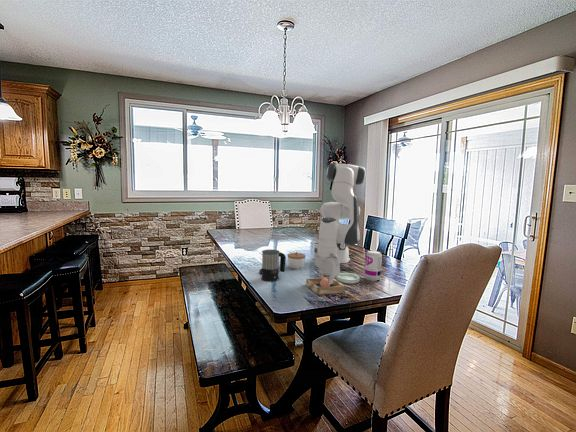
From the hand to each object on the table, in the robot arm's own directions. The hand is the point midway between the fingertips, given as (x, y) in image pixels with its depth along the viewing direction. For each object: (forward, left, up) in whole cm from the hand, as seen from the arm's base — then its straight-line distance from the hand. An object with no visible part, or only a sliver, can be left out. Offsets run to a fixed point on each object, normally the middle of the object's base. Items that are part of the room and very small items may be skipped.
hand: (325, 280), depth 144 cm
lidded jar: (-37, -1, -5) cm, 38 cm away
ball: (0, 0, -2) cm, 2 cm away
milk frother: (-25, -22, -5) cm, 33 cm away
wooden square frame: (0, 0, -4) cm, 4 cm away
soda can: (-7, +32, -5) cm, 33 cm away
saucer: (-9, +18, -4) cm, 21 cm away
